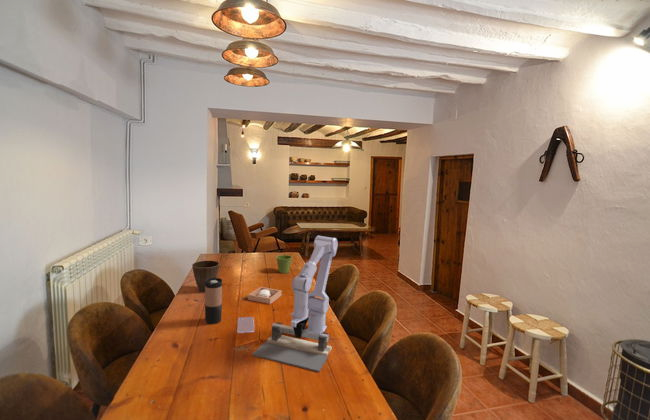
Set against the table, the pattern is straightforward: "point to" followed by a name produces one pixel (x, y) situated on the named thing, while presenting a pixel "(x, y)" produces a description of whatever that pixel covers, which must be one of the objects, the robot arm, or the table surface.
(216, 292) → the travel mug
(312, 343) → the hook stand
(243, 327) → the mobile phone
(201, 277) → the plant pot
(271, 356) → the mat
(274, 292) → the garlic dish
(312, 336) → the rail
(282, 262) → the plant pot
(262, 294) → the garlic
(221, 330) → the table surface
